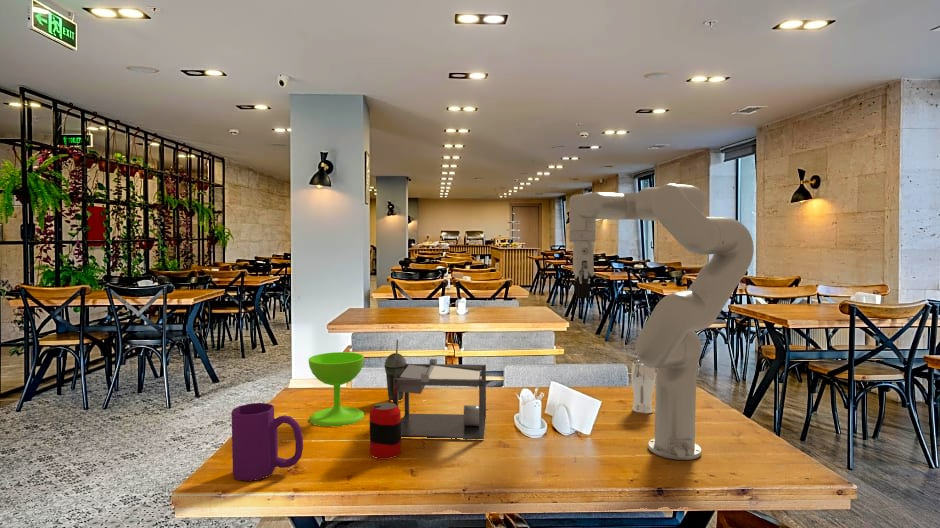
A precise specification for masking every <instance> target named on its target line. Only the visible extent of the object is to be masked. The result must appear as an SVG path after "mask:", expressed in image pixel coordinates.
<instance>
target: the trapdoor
mask: <svg viewBox="0 0 940 528" xmlns="http://www.w3.org/2000/svg"><path fill="white" fill-rule="evenodd" d="M422 373H429V379H479V380H480V376H481V371H476V370H467V369H458V368H449V367H440V366H435V365H433V364H432V365H430V367H425V366H416V365H408V367H407V368H406V369H405V371H404V372H403V373H402V375H401V376H400V378H411V379H421V374H422ZM425 387H426V386H425V385H399V392H404V393H405V392H407V393H409V394H417V395H418V394H419V395H421V394H422V392H423V390H425V389H424V388H425ZM468 387H471V388H479V386H468Z"/></svg>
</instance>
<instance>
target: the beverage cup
mask: <svg viewBox="0 0 940 528" xmlns="http://www.w3.org/2000/svg"><path fill="white" fill-rule="evenodd" d="M398 350H399V339H396V348H395V353H391V354H389V355H388V356H387V357H386V359H385V362H384V365H383V366H384V371H385V377H386V386H387V396H388V401H389V400H393V379H394V378H400V376H401V375H402V373H403V372H404V364H407V361H406V358H405V357H404V356H403V355H402V354H401V353H398ZM404 395H405V392H399V385H398V400H401V399H403V400H404Z"/></svg>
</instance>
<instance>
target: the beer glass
mask: <svg viewBox="0 0 940 528" xmlns="http://www.w3.org/2000/svg"><path fill="white" fill-rule="evenodd" d="M630 376H631V377H630V379H631V387H632V393H633V394H632V395H633V404H632V411H633V412H634V413H637V414H647V415H648V414H652V413H653V412H654V408H653V401H652V400H653V394H654V389H655V385H656V369H654V368H649V367H647V366H645V365H643V364H642V363H641V362H640V360H639V359H638V360H633V361H632V363H631V375H630Z"/></svg>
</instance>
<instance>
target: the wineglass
mask: <svg viewBox="0 0 940 528" xmlns="http://www.w3.org/2000/svg"><path fill="white" fill-rule="evenodd" d="M364 362H365V355H363V354H362V353H359V352H351V351H350V352H349V351H348V352H347V351H340V352H339V351H337V352H336V351H333V352H327V353H320V354H316V355H312V356H310V357H309V358H308V366H309V369H310V371H311V373H312V375H314V377H315V378H316V379H317V380H318V381H320V382H321V383H323V384H325V385H328V386H333V406H332V407H328V408H322V409H320V410H318V411H315V412H313V414H312V415H310V417H309V423H310V424H312V423H313V424H312V425H314V424H316V425H315V426H317V425H320V426H319V427H321V426H341V427H343V426H342V425H347V426H349V425H348V424H351V425H354V424H353V423H355V424H357V423H356V422H358V421H360V420H361V419H363V417H364V415H365V413H364V412H363V411H362V410H361V409H359V408H357V407H351V406H342V405H341V386H342V385H346V384H348V383H349V382H351V381H353V380H354V379H355V378H356V377H357V376H358V375H359V373H360V372H361V370H362V369H363V366H364ZM364 418H365V417H364ZM363 420H364V419H363ZM361 421H362V420H361ZM361 421H360V422H361ZM358 423H359V422H358Z"/></svg>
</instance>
